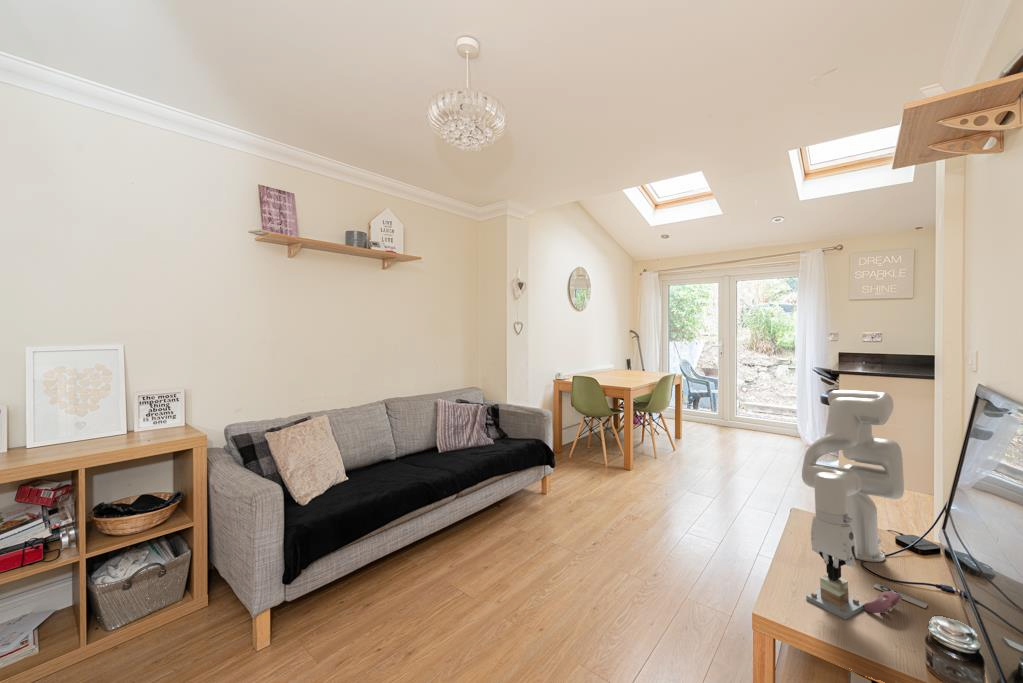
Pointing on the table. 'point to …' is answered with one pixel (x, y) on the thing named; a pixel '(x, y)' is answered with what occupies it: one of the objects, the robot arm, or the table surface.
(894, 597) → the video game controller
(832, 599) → the block stack
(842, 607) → the board
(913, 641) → the table surface
